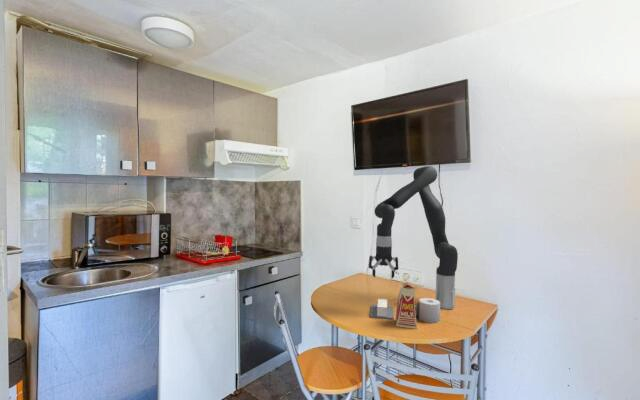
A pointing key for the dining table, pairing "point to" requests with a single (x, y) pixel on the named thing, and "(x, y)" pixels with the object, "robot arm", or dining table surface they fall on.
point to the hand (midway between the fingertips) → (383, 277)
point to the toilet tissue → (428, 310)
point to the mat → (374, 315)
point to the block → (382, 307)
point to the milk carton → (406, 307)
